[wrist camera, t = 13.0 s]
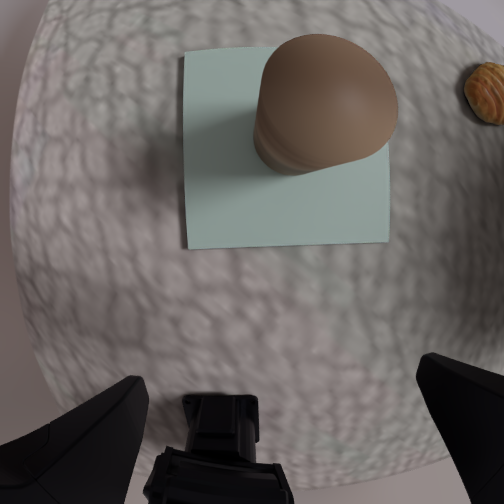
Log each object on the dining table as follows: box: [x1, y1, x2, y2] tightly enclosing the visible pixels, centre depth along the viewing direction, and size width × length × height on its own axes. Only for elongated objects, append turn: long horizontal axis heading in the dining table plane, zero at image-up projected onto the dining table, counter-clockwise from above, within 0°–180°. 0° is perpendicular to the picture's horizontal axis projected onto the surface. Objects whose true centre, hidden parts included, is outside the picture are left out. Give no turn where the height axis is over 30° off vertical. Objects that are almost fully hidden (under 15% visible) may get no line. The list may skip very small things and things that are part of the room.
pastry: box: [464, 62, 504, 125], centre depth 15 cm, size 9×7×4 cm
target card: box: [183, 47, 390, 249], centre depth 17 cm, size 14×14×1 cm
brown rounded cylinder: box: [253, 34, 398, 176], centre depth 12 cm, size 5×5×9 cm
